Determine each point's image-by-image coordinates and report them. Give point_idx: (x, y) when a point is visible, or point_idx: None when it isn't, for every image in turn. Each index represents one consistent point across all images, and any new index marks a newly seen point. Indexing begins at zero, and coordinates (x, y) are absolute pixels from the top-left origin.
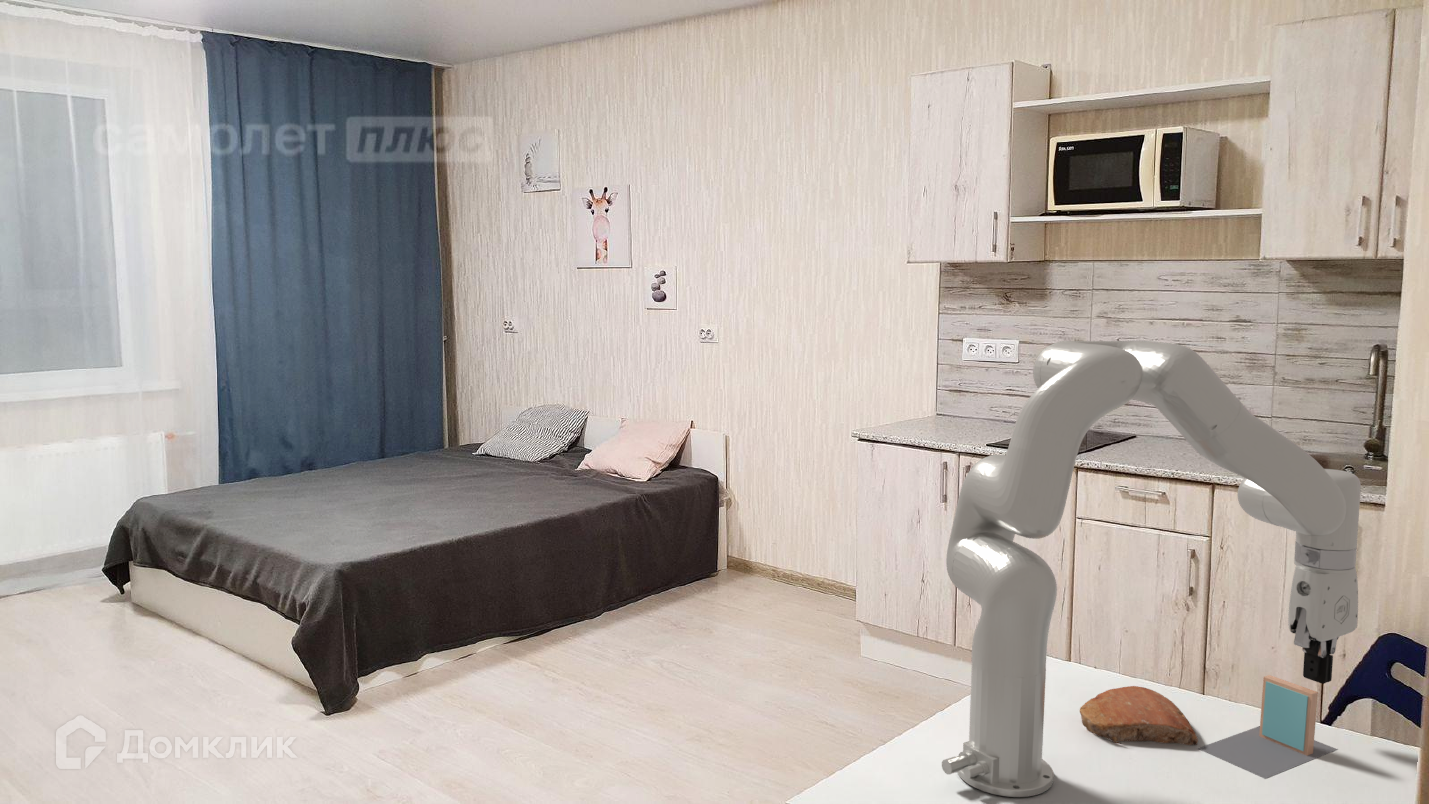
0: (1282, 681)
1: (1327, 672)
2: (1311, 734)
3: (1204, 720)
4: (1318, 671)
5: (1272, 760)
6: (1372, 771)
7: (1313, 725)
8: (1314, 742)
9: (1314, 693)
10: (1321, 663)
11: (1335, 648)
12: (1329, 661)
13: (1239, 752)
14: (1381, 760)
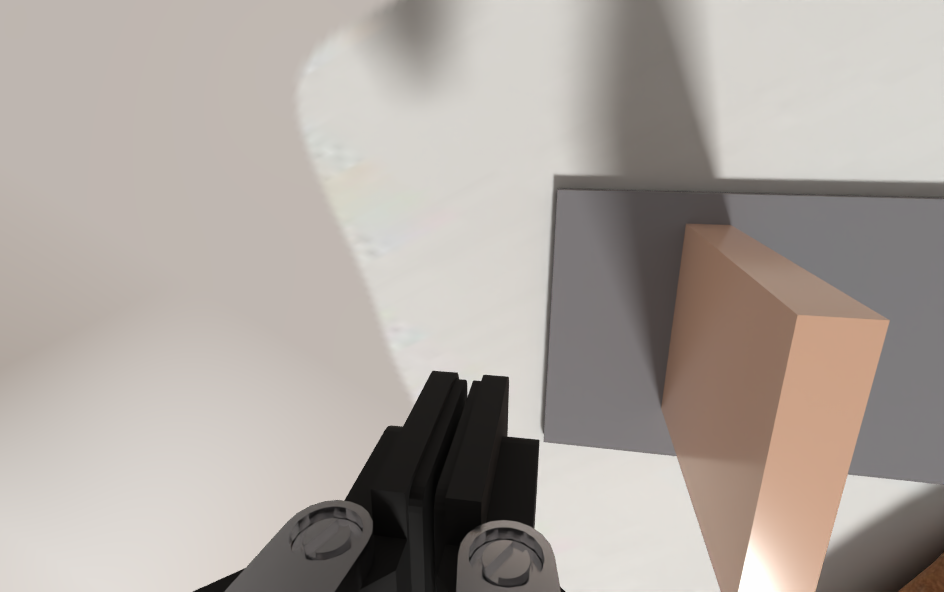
0: (790, 539)
1: (476, 411)
2: (735, 243)
3: (702, 572)
4: (520, 456)
5: (909, 279)
6: (618, 9)
7: (737, 253)
8: (572, 271)
9: (848, 318)
10: (492, 491)
11: (281, 537)
12: (424, 466)
13: (935, 388)
14: (478, 51)
